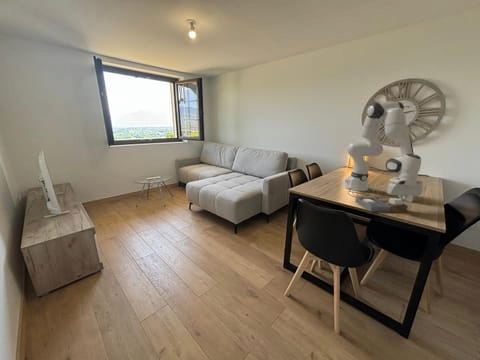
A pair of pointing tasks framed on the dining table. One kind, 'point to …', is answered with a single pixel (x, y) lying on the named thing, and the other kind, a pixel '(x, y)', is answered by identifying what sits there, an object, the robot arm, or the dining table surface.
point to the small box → (410, 198)
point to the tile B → (395, 201)
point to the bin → (377, 207)
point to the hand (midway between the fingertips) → (401, 201)
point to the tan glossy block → (393, 207)
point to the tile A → (369, 201)
